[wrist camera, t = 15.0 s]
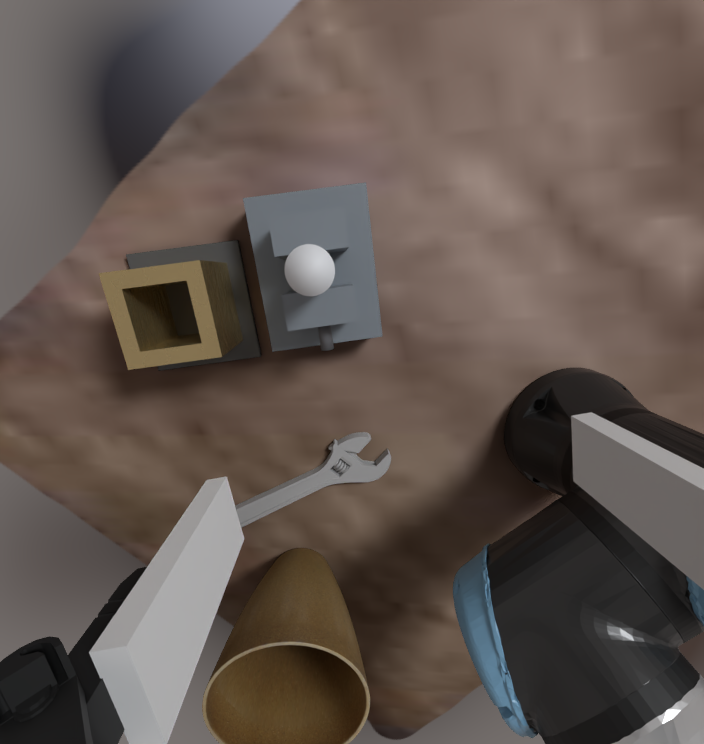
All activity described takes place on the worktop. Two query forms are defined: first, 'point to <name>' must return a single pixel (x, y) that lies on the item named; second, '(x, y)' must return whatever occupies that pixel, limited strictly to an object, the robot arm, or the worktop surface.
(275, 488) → the adjustable wrench
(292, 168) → the worktop surface
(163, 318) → the brass collar
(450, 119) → the worktop surface
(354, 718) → the plant pot
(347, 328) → the vise
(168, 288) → the rubber mat
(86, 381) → the worktop surface
